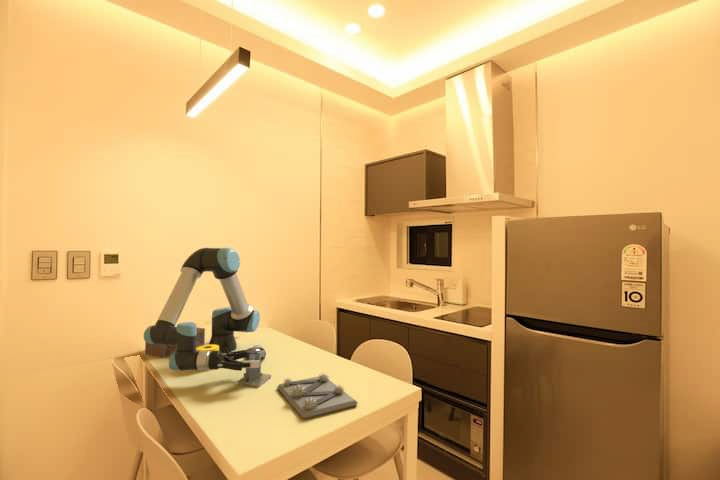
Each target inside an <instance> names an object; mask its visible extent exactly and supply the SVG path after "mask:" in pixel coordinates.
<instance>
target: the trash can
mask: <svg viewBox="0 0 720 480" xmlns="http://www.w3.org/2000/svg"><path fill="white" fill-rule="evenodd" d="M246 350H247V352H246V361H257V360H259V368H245V372H244V373H243V377H246V379H247V380H257V379H260V377H262V374H263V372H261V367H262V365H261V364H262V362H261V349H260V348H252V347H248V348H247V349H246Z"/></svg>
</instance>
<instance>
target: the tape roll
mask: <svg viewBox="0 0 720 480" xmlns="http://www.w3.org/2000/svg"><path fill="white" fill-rule="evenodd" d="M196 351H211V352H212V351H219V345H214V344H210V345H209V344H204V345H202V346H199V347H197V348H196ZM197 371H198V372H205V371H207V372H208V371H211V370H210V369H208V370H204V371H202V370H197Z"/></svg>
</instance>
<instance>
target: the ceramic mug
mask: <svg viewBox="0 0 720 480" xmlns="http://www.w3.org/2000/svg"><path fill="white" fill-rule="evenodd" d="M251 348H260V349H261V351H264V357H261V363H262V362H264V360H265V359H266V355H267V352H266V349H265V348H264V346H263V345H260V344H256V345H253V346H252V347H251ZM242 359H243V360H242V361H246V358H242Z"/></svg>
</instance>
